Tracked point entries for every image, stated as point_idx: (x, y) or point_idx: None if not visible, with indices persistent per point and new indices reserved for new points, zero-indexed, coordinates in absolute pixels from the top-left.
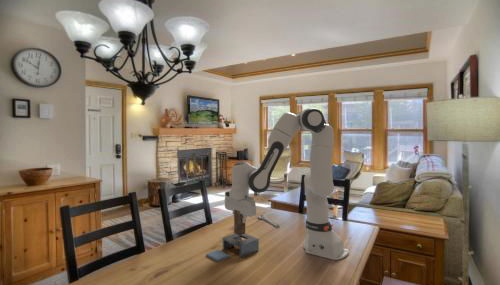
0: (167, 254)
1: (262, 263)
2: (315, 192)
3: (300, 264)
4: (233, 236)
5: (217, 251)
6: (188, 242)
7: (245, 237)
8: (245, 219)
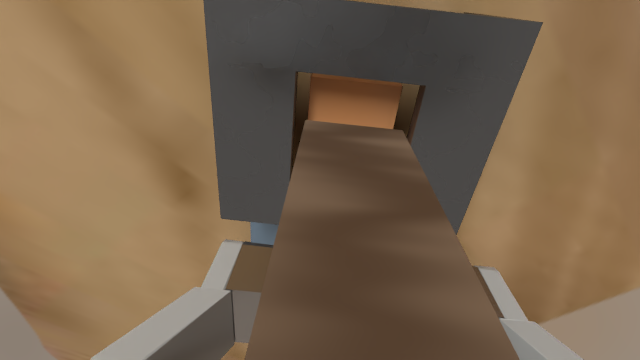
0: (125, 333)
1: (592, 168)
2: None
3: None
4: (266, 146)
5: (270, 231)
6: (23, 220)
7: (371, 78)
8: (519, 320)
